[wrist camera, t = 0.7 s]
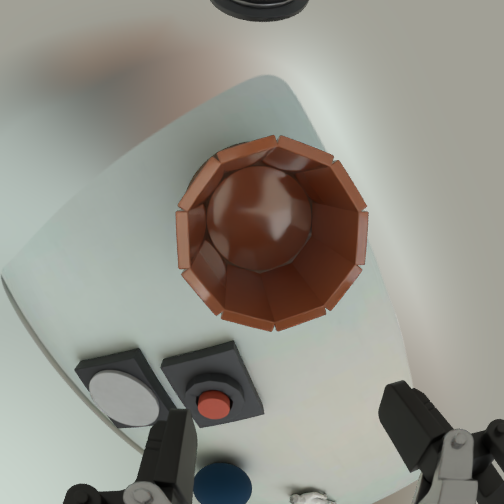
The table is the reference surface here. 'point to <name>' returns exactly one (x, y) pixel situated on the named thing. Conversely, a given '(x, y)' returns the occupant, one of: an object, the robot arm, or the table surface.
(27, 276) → the table surface
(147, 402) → the scale
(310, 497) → the figurine
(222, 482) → the christmas ornament
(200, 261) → the orange wooden cup
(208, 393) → the button
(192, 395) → the red push button box
